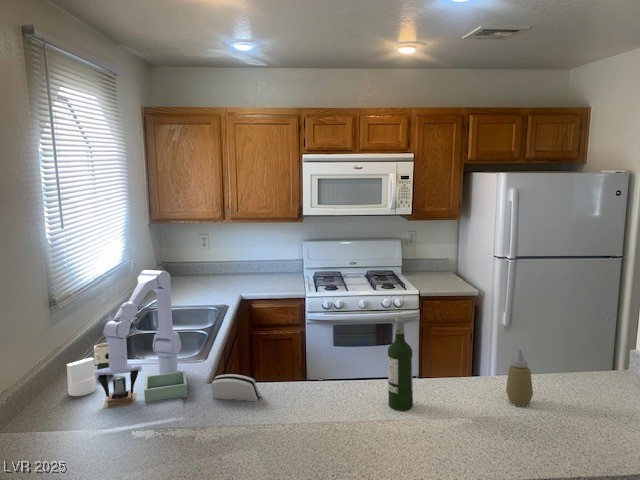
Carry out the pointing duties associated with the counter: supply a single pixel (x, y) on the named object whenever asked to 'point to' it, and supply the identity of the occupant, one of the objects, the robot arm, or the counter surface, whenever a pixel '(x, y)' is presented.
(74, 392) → the white grooved block
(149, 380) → the bin
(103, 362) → the character mug
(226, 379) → the grey toaster
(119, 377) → the strut
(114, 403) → the socket block
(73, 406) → the counter surface
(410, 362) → the wine bottle
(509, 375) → the squeeze bottle
